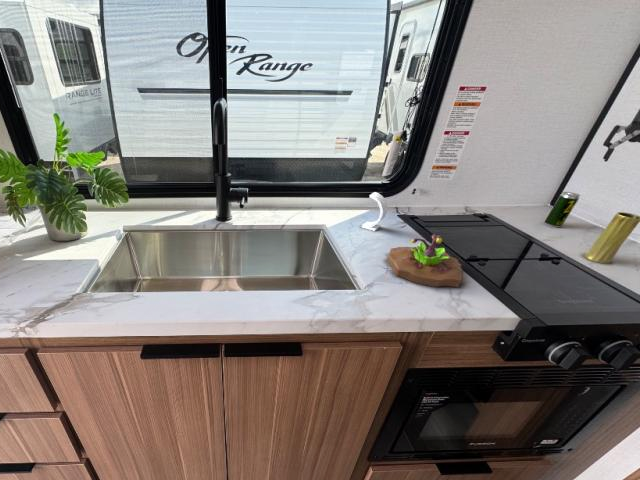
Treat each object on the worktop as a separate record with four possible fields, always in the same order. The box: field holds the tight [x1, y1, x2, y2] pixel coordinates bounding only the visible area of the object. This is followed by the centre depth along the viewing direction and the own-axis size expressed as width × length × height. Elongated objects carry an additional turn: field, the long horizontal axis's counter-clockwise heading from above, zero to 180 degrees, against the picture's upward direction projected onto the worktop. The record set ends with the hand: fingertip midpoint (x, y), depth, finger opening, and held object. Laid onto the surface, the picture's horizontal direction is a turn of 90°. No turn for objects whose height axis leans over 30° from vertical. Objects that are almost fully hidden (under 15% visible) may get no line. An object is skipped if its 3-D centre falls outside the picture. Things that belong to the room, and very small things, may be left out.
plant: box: [386, 233, 463, 288], centre depth 91 cm, size 20×20×11 cm
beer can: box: [544, 191, 581, 229], centre depth 120 cm, size 5×5×12 cm
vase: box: [584, 211, 640, 264], centre depth 97 cm, size 6×6×14 cm
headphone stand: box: [361, 191, 388, 232], centre depth 116 cm, size 5×6×12 cm
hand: (623, 163), depth 104 cm, fingers open, 8 cm apart
